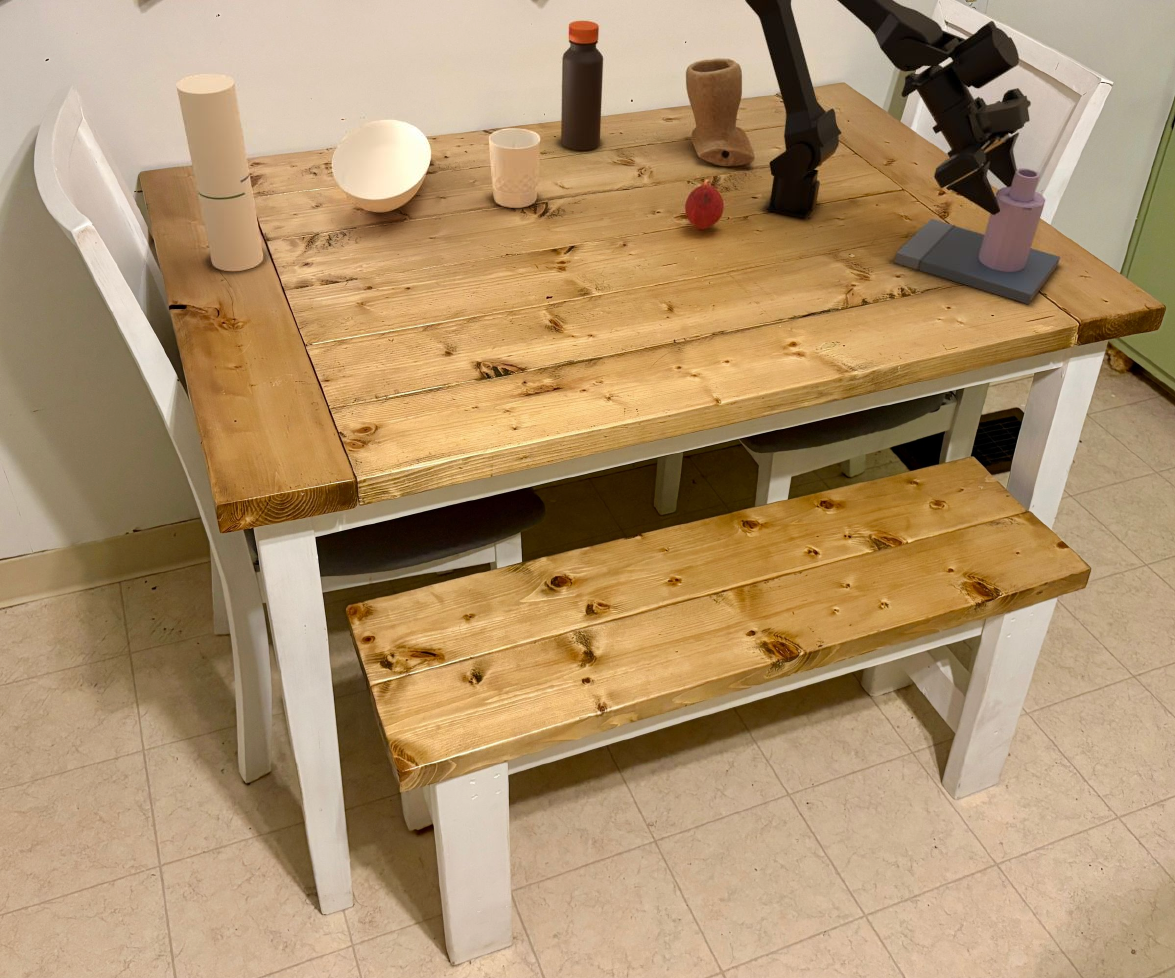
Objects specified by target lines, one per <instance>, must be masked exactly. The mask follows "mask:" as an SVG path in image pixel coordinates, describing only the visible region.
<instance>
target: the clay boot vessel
mask: <svg viewBox="0 0 1175 978" xmlns="http://www.w3.org/2000/svg"><path fill="white" fill-rule="evenodd" d="M685 85H686V86H685V88H686V94H687V97H688V101H689V104H690V106H691V110H692V113H693V118H694V122H695V128H693V130H692V132H691V137H690V138H691V141H692V144H693V147H694V150H695V152H696V154H697V156H698V157H699V158H700V159H702V160H704V161H706V162H709V163H712V164H714V165H717V166H720V167H737V166H743V165H747V164H750V163H752V162H754V161H755V159H756V158H755V152H754V149H753V146H752V145H751V142H750V139H749V137H748V135H747V133H746V131H745V130H744V129H743V128H742V127H739V126H737V118H738V111H739V109H740V105H741V102H742V97H743V73H742V68H741V65H740V64H739V63H738V62H736V61H735V60H733V59H730V58H712V59H702V60H699V61H698V60H697V61H694V62H692V63H691V64H689V65H688V66H687V68H686V70H685Z"/></svg>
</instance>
